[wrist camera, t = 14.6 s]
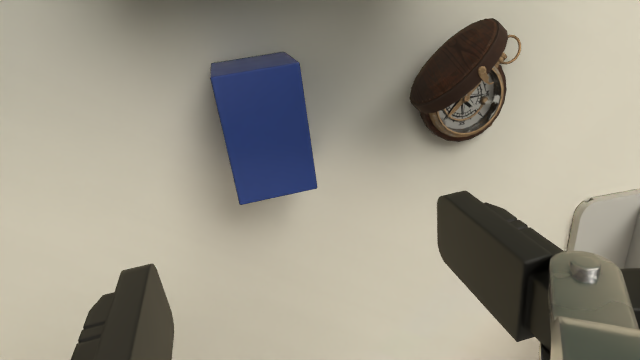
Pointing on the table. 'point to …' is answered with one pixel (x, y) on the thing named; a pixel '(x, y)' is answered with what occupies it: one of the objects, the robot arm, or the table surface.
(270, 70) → the block
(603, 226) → the phone holder
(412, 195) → the table surface
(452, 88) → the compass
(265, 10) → the table surface
